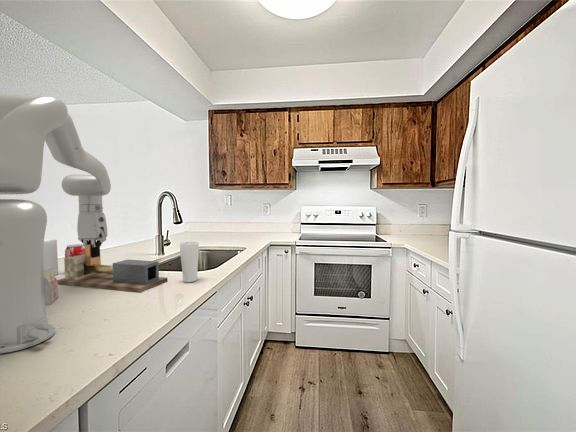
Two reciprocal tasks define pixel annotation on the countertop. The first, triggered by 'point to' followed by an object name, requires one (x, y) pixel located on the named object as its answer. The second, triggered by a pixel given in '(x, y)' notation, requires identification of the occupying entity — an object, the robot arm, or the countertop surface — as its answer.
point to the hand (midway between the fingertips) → (92, 256)
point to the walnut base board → (109, 283)
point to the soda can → (74, 250)
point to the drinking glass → (189, 260)
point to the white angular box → (50, 287)
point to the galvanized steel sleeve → (136, 272)
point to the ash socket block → (77, 268)
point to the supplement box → (50, 255)
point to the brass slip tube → (95, 263)
